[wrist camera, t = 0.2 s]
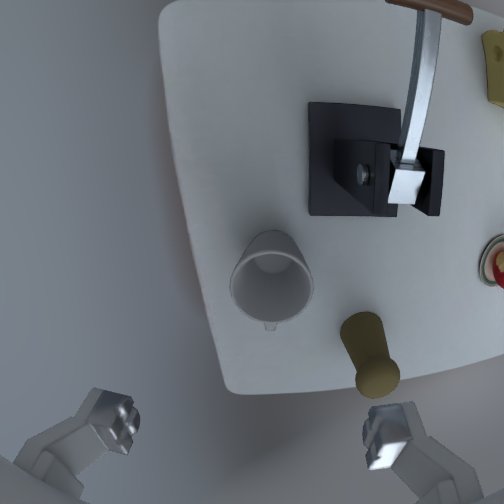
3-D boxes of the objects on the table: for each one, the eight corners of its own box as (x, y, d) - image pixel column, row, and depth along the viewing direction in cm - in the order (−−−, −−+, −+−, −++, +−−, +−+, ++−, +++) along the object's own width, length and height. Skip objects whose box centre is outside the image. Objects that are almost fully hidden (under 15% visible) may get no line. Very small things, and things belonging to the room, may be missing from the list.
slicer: (307, 103, 28) (332, 77, 15) (396, 110, 27) (473, 100, 14) (308, 212, 33) (330, 271, 19) (393, 214, 32) (457, 268, 18)
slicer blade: (379, -21, 9) (395, -21, 8) (457, 1, 9) (479, 7, 7) (359, 180, 20) (366, 202, 19) (420, 184, 20) (431, 205, 18)
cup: (308, 222, 33) (317, 251, 25) (302, 300, 37) (307, 344, 29) (239, 221, 34) (227, 249, 26) (241, 299, 37) (231, 341, 30)
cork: (346, 353, 40) (360, 412, 29) (334, 322, 38) (348, 382, 28) (386, 337, 38) (409, 393, 28) (377, 305, 36) (403, 360, 26)
